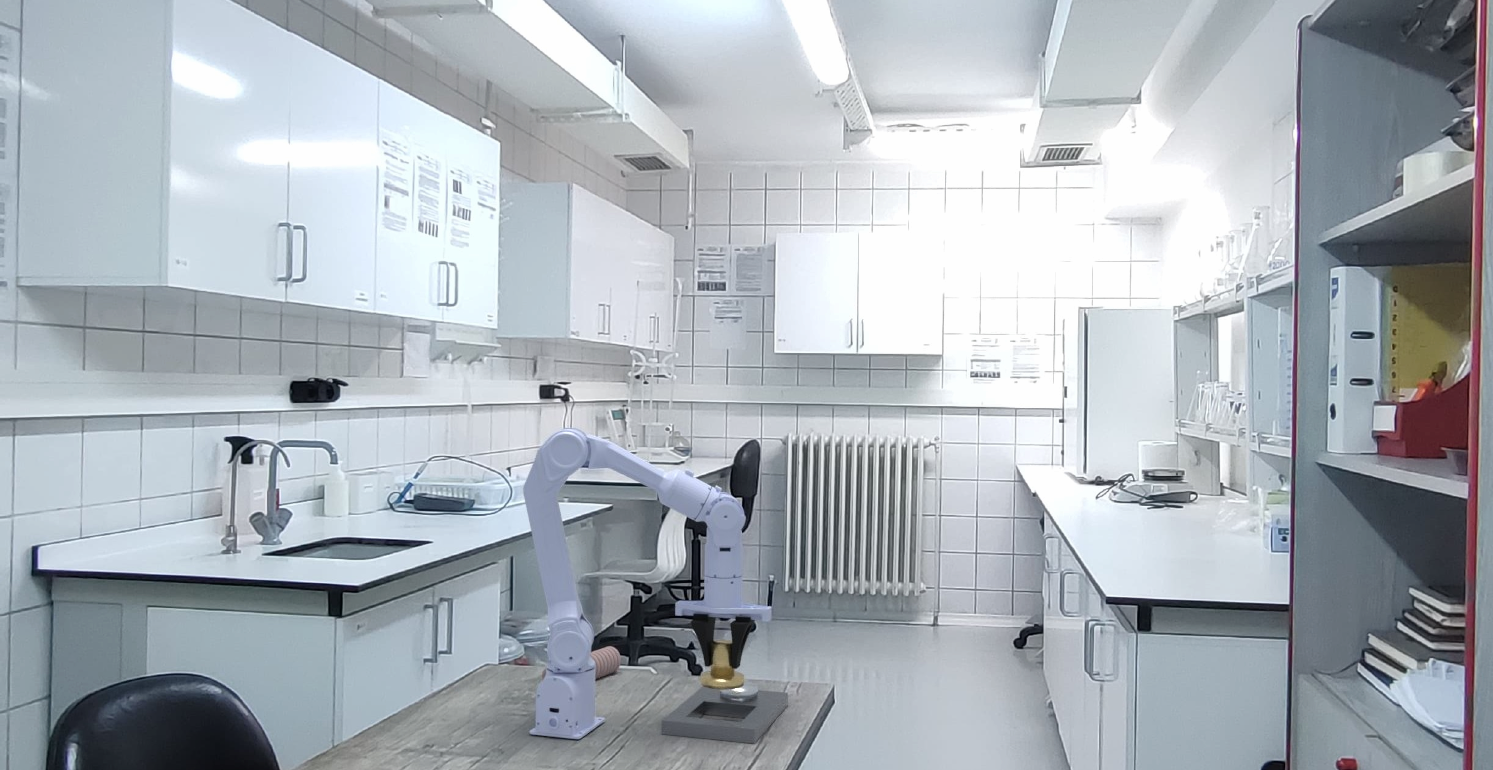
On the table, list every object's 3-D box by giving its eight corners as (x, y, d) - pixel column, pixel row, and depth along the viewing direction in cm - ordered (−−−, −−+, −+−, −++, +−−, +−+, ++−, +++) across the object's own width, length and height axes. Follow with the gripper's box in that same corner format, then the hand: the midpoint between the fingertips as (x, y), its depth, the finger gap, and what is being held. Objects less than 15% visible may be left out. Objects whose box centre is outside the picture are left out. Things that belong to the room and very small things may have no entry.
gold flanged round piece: (737, 691, 161) (738, 648, 161) (695, 687, 162) (696, 645, 162) (748, 680, 167) (749, 639, 167) (707, 676, 169) (708, 635, 169)
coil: (561, 670, 179) (625, 648, 195) (539, 664, 181) (604, 642, 197) (558, 698, 179) (623, 674, 195) (536, 691, 181) (601, 668, 197)
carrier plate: (754, 743, 156) (754, 718, 156) (661, 734, 160) (661, 710, 160) (787, 705, 175) (788, 683, 175) (704, 697, 179) (704, 676, 179)
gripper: (777, 573, 167) (776, 663, 166) (686, 568, 170) (685, 656, 170) (765, 581, 160) (764, 675, 160) (670, 575, 164) (669, 667, 164)
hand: (722, 666), depth 165 cm, fingers closed on gold flanged round piece, 4 cm apart
